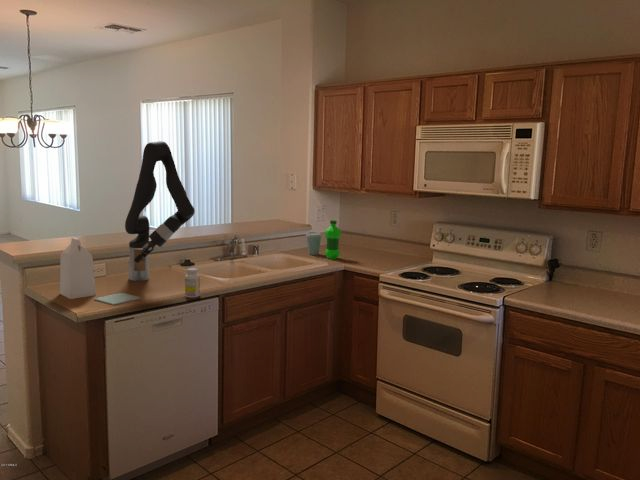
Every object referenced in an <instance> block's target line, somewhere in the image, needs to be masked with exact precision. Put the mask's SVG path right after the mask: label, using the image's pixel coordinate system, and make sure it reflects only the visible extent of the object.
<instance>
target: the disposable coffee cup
mask: <svg viewBox="0 0 640 480" xmlns="http://www.w3.org/2000/svg"><path fill="white" fill-rule="evenodd" d="M305 238H306V244H307V251H308V254H309V256H317V255H319V252H320V247H321V240H322V234H321V232H318V231H308V232H306V234H305Z"/></svg>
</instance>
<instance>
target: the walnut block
mask: <svg viewBox="0 0 640 480" xmlns="http://www.w3.org/2000/svg"><path fill="white" fill-rule="evenodd" d="M142 249H143V248H134V259H135V258H136V257H137V256H138V255H139V254H140V253H141V252H142V251H143V250H142ZM144 254H145V252H144ZM134 271H145V258H142V259H141V260H140V261H139V262H138V263H136V262H135V261H134Z"/></svg>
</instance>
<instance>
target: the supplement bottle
mask: <svg viewBox="0 0 640 480" xmlns="http://www.w3.org/2000/svg"><path fill="white" fill-rule="evenodd" d="M186 273H187V274H186V275H184V295H185V296H184V297H187V298H191V299H192V298H193V299H194V298H198V297H200V295H201V289H200V287H201V286H200V285H201V282H200V280H201V279H200V277H201V276H200V274H198V268H197V267H195V268H194V267H190V268H186Z"/></svg>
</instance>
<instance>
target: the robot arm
mask: <svg viewBox="0 0 640 480" xmlns="http://www.w3.org/2000/svg"><path fill="white" fill-rule="evenodd" d="M157 162H161V163H162V165H163V166H164V169H165V184H166V188H167V190H168V193H169V194H170V196H171V198H172V200H173V202H174V204H175V208H176V209H177V211H176V212H175V213H174V214H172V215H171V216H169V217H168V218H167V219H165V220H164V221H163V223H161V224H160V225H158V227H157V228H155V229H154V230H153V231H152V233H150V220H149V218H148V216H146V215H141V213H142V212H143V210H144V209H146V207H148V205H149V204H150V203H152V201H153V200H154V197H155V193H156V190H157V185H158V184H157V180H156V178H155V174H154V173H155V172H154V171H155V168H156V164H157ZM140 167H141V168H140V170H139V176H138V180H137V183H136V187H135V190H134V195H133V199H132V202H131V204H130V205H131V206H130V208H129V211H128V213H127V216H126V219H125V223H124V228H125V232H126V233H127V234H129V235H137V236H136V237H135V238H133V239H131V240H130V241H129V242H128V245H129V246H128V247H129V248H128V249H129V250H128V251H129V260H128V280H130V281H133V282H143V281H149V279H150V276H149V275H150V274H149V254H150V253H152V252H153V251H154V250H155V247H156V246H158V247H159V248H161V247H163V245H164V244H166V242H168V241H169V240H170V238H171V237H173V235H174V234H175V233H176V232H177V231H178V230H179V229H180V228H181V227H182V226H183V225H185V224H186V223H187V222H188V221H189V220H190V219H191V218H192V217H193V216H194V214H195V207H194V206H193V205H192V203H191V201H190V199H189V197H188V196H187V191H186V190H185V187H184V186H183V183H182V181H181V178H180V176H179V173H178V171H177V168H176V163H175V161H174V157H173V155H172V151H171V148H170V146H169V145H168V142H165V141H162V140H161V141H160V140H159V141H151V142H148V143H146V144H145V145H144V149H143V153H142V160H141V166H140ZM134 248H143V249H142V250H143V251H142V252H141V253H140V254H139V255H138V256H137V257H136V258H135V259H134ZM144 252H145V254H144ZM142 258H145V271H134V261H135V262H136V263H138V262H139V261H140V260H141V259H142Z"/></svg>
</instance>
